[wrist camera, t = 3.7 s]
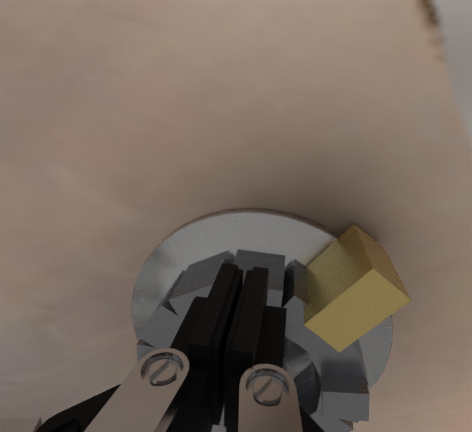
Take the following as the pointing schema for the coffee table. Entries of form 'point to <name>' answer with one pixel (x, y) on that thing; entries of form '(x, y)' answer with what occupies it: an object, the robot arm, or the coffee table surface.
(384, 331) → the spindle plate
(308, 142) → the coffee table surface
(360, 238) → the castellated metal disc
